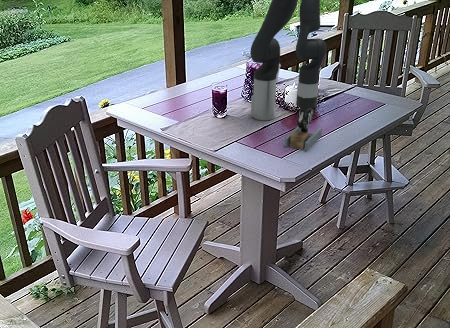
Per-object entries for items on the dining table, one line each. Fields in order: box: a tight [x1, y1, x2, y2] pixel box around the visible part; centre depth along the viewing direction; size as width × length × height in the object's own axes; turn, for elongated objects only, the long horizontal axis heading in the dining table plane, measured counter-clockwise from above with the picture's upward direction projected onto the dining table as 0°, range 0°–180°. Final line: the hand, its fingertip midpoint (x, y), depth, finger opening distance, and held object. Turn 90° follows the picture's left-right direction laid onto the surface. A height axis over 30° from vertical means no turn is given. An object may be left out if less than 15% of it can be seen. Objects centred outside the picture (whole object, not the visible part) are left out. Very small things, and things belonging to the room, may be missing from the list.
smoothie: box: [276, 63, 282, 84], centre depth 259 cm, size 6×6×14 cm
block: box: [289, 131, 309, 151], centre depth 193 cm, size 5×5×5 cm
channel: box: [283, 126, 323, 153], centre depth 197 cm, size 9×16×4 cm, turn 152°
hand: (303, 136), depth 197 cm, fingers closed
